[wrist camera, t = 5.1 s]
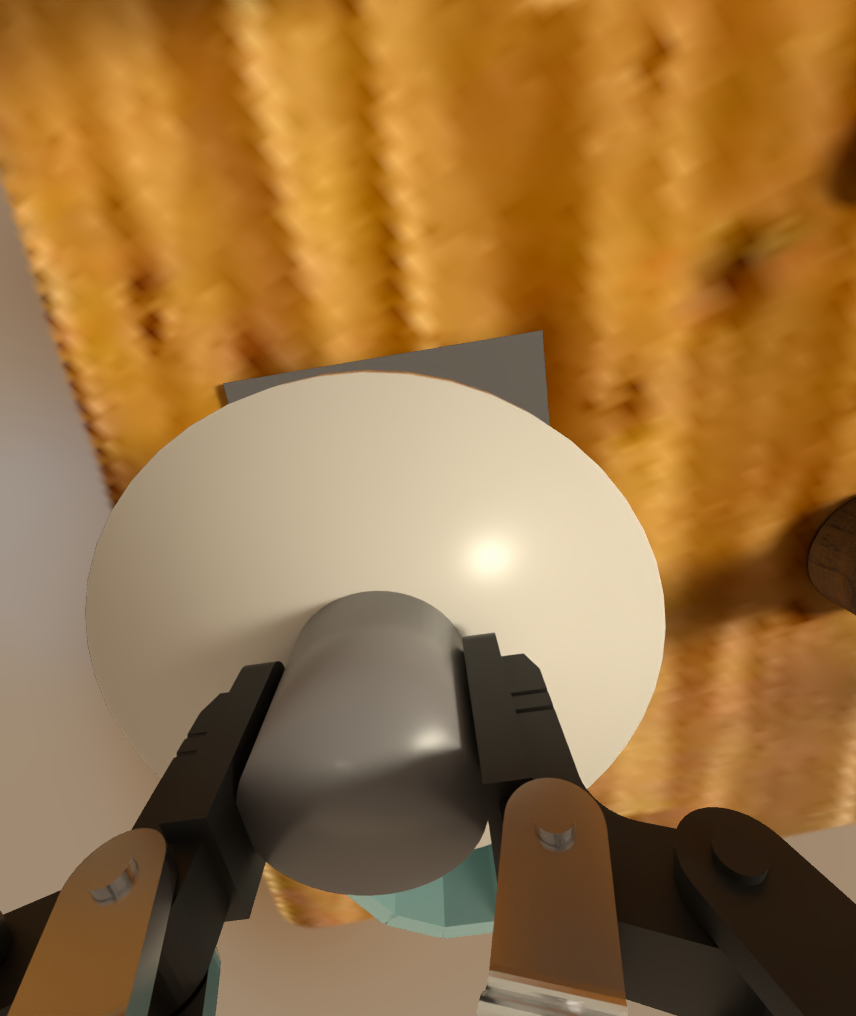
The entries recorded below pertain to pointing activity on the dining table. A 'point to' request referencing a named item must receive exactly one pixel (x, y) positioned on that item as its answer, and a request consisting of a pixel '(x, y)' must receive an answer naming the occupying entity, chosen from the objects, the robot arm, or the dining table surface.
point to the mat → (449, 370)
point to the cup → (444, 901)
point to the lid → (371, 609)
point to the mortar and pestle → (836, 558)
